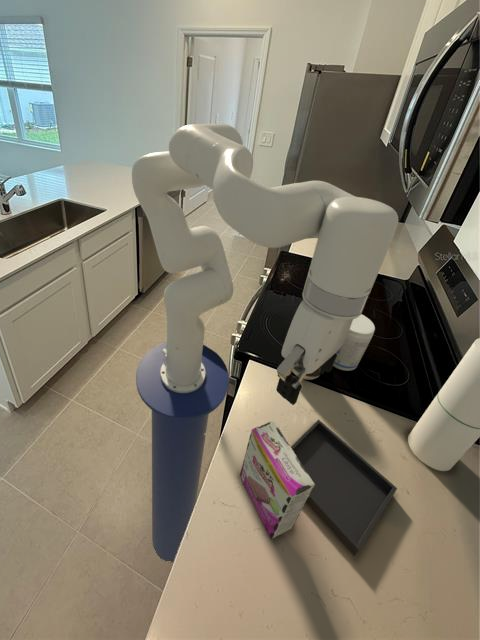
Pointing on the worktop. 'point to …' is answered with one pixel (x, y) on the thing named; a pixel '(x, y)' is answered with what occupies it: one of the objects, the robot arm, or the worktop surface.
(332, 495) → the pan
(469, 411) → the container
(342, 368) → the supplement tub
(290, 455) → the candy bar box
